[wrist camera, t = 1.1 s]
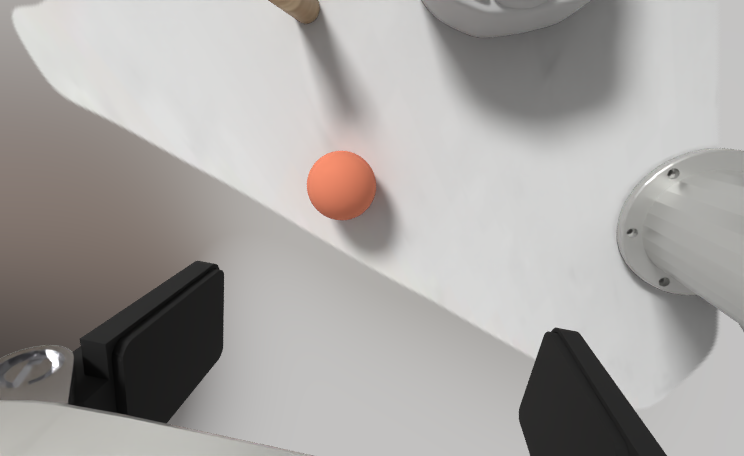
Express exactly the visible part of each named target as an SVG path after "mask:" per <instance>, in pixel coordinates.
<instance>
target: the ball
mask: <svg viewBox="0 0 744 456" xmlns="http://www.w3.org/2000/svg"><path fill="white" fill-rule="evenodd" d="M307 191H308V195H309V198H310V200H311V202H312V204H313V205H314V207H315V208H316V209H317V210H318V211H319V212H320V213H321V214H323V215H324V216H326V217H329V218H331V219H335V220H349V219H352V218H355V217H357V216H359V215H361V214H362V213H363V212H365V211H366V210H367V209H368V207H369V206H370V205H371V203H372V201H373V199H374V196H375V192H376V180H375V176H374V173H373V171H372V169H371V167H370V166H369V164H368V163H367V162H366V161H365V160H364V159H363V158H361V157H360V156H358V155H356V154H354V153H351V152H347V151H335V152H331V153H328V154H326V155H324V156H323V157H321V158H320V159H319V160H318V161H316V163H315V164H314V165H313V167H312V168H311V170H310V172H309V175H308V179H307Z"/></svg>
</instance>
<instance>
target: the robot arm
mask: <svg viewBox="0 0 744 456" xmlns="http://www.w3.org/2000/svg"><path fill="white" fill-rule="evenodd" d="M668 171H670V172H669V174H668ZM667 174H668V175H667ZM629 229H630V231H629V232H627V231H628V230H629ZM617 241H618V245H619V249H620V253H621V255H622V257H623V259H624V261H625V263H626V264H627V265H628V266H629V267H630V269H631V270H632V271H633V272H634V273H635V274H636V275H638V276H639V277H640V278H641V279H642V280H643V281H645V282H647V283H648V284H650V285H652V286H653V287H655V288H658V289H660V290H663V291H666V292H669V293H674V294H679V295H698V296H700V297H701V298H703V299H704V300H706V301H707V302H709V303H710V304H712V305H713V306H714V307H716V308H717V309H719V310H720V311H722V312H723V313H725V314H726V315H728V316H729V317H730V318H732V319H733V320H735V321H736V322H738V323H739V325H740V326H741V328H742V329H743V331H744V151H741V150H734V149H725V148H724V149H723V148H722V149H704V150H699V151H694V152H690V153H687V154H684V155H681V156H679V157H676V158H673V159H671V160H670V161H668V162H666V163H664V164H662V165H660V166H659V167H657V168H656V169H655V170H653V171H652V172H651V173H649V174H648V175H647V176H645V177H644V178H643V180H642V181H641V182H640V183H639V184H638V185H637V186H636V187H635V188H634V189H633V191H632V192H631V194H630V195H629V197H628V198H627V200H626V201H625V204H624V206H623V208H622V211H621V213H620V216H619V221H618V226H617ZM223 307H224V273H223V271H222V270H219V267H218V265H217V264H212V263H207V262H201V261H196V262H194V263H192V264H191V265H189V266H188V267H187V268H185V269H184V270H182V271H180V272H179V273H177V274H176V275H174V276H173V277H171V278H170V279H168V280H167V281H165V282H164V283H162V284H161V285H159V286H158V287H157V288H155V289H153V290H152V291H151V292H149V293H148V294H146V295H145V296H143V297H142V298H140V299H139V300H137V301H136V302H134V303H133V304H131V305H130V306H128V307H127V308H125V309H124V310H122V311H121V312H119V313H118V314H116V315H115V316H113V317H112V318H111V319H109V320H107V321H106V322H104V323H103V324H101V325H100V326H98V327H97V328H95V329H94V330H92V331H91V332H89V333H88V334H86V335H85V336H83V337H82V338H80V343H81V346H80V347H79V348H78V349H76V350H75V351H73V352H72V351H70V350H69V349H68V348H65V347H62V346H55V345H45V346H36V347H31V348H27V349H23V350H19V351H17V352H14V353H11V354H9V355H6V356H4V357H2V358H1V359H0V456H313V455H308V454H304V453H299V452H294V451H290V450H285V449H281V448H277V447H272V446H268V445H263V444H258V443H253V442H249V441H245V440H240V439H235V438H231V437H226V436H221V435H217V434H212V433H208V432H203V431H198V430H194V429H189V428H184V427H180V426H175V425H171V424H166V423H167V422H168V421H169V420H170V418H171V417H172V416H173V415H174V414H175V412H176V411H177V410H178V409H179V407H180V406H181V405H182V404H183V403H184V401H185V400H186V399H187V398H188V396H189V395H190V394H191V393H192V391H193V390H194V389H195V388H196V386H197V385H198V384H199V383H200V382H201V380H202V379H203V378H204V376H205V375H206V374H207V373H208V372H209V370H210V369H211V368H212V367H213V365H214V364H215V363H216V362H217V361H218V359H219V358H220V356H221V353H222V350H223V310H224V308H223ZM519 421H520V424H521V427H522V431H523V434H524V437H525V440H526V443H527V446H528V450H529V453H530V456H667V455H666V454H665V452H664V451H663V450H662V448H661V447H660V445H659V444H658V442H657V441H656V440H655V438H654V437H653V435H652V434H651V433H650V431H649V430H648V428H647V427H646V426H645V424H644V423H643V421H642V420H641V419H640V418H639V416H638V415H637V413H636V412H635V410H634V409H633V407H632V406H631V405H630V403H629V402H628V400H627V399H626V398H625V396H624V395H623V393H622V392H621V391H620V389H619V388H618V386H617V385H616V384H615V382H614V381H613V379H612V378H611V377H610V375H609V374H608V372H607V371H606V370H605V368H604V367H603V365H602V364H601V363H600V361H599V360H598V358H597V357H596V356H595V354H594V353H593V351H592V350H591V349H590V347H589V346H588V344H587V343H586V342H585V340H584V339H583V337H582V336H581V335H580V334H579V333H578V332H576V331H571V330H565V329H560V328H554V329H553V330H552V331H551V332H546V333H545V335H544V337H543V340H542V343H541V346H540V349H539V352H538V355H537V358H536V361H535V364H534V367H533V370H532V373H531V376H530V378H529V381H528V385H527V388H526V390H525V394H524V396H523V399H522V402H521V405H520V409H519Z"/></svg>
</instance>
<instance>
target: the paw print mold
mask: <svg viewBox="0 0 744 456" xmlns="http://www.w3.org/2000/svg"><path fill="white" fill-rule="evenodd" d="M590 1H591V0H422V2H423V3H424V5H425V6H426V7H427V8H428V10H429V11H430V12H431V13H432V14H433V15H434V16H435V17H436V18H437V19H438V20H440V21H441V22H443V23H444V24H446V25H448V26H450V27H452V28H454V29H456V30H458V31H460V32H463V33H465V34H468V35H470V36H474V37H481V38H485V37H499V36H508V35H514V34H520V33H525V32H529V31H532V30H536V29H540V28H544V27H548V26H551V25H554V24H556V23H558V22H560V21H562V20H564V19H566V18H567V17H569V16H570V15H571V14H573V13H574V12H576V11H577V10H579V9H580V8H581V7H583V6H584V5H586V4H587V3H588V2H590Z"/></svg>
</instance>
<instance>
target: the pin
mask: <svg viewBox="0 0 744 456" xmlns="http://www.w3.org/2000/svg"><path fill="white" fill-rule="evenodd" d="M269 1H270V2H271V3H273V4H274V5H276V6H277V7H279V8H280V9H282V10H283V11H285V12H286V13H288V14H289V15H291V16H292V17H293V18H295V19H296V20H298V21H299V22H301V23H304V24H308V23H311V22H313V21H314V20H315V19H316V18H317V16H318V14H319V2H318V0H269Z"/></svg>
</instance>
